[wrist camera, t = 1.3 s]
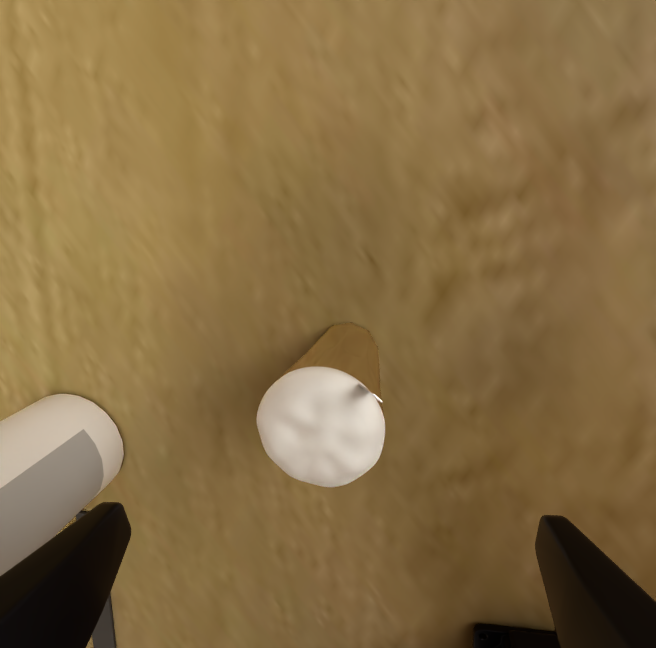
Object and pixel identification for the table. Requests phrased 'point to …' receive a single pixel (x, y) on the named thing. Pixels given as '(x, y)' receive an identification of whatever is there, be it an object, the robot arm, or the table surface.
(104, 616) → the tape line
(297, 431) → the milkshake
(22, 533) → the spray bottle
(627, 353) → the table surface
